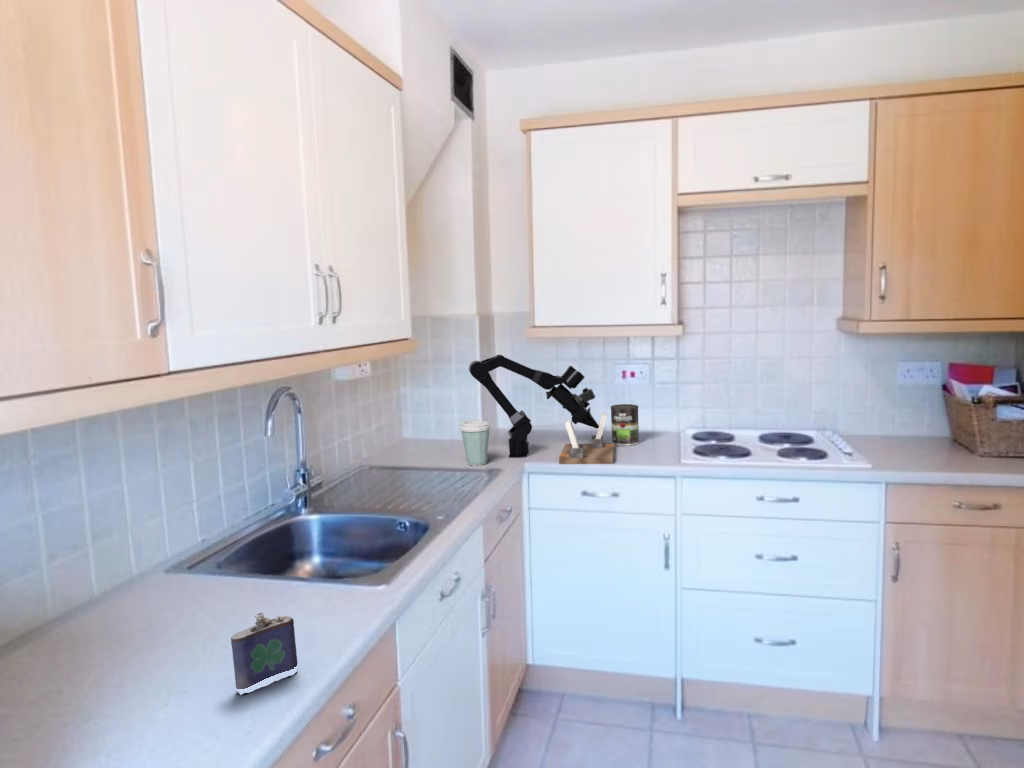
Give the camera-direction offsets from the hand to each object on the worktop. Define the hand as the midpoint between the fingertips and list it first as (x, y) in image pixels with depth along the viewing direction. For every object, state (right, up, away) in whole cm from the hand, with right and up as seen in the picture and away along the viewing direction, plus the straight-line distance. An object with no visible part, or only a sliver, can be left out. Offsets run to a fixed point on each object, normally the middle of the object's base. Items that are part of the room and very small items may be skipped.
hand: (598, 427), depth 235 cm
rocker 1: (-8, -8, -12) cm, 17 cm away
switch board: (-4, -10, -5) cm, 12 cm away
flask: (-68, -30, -136) cm, 155 cm away
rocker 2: (-1, -6, +1) cm, 7 cm away
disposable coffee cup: (-43, -12, -8) cm, 46 cm away
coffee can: (+12, -7, +12) cm, 18 cm away
